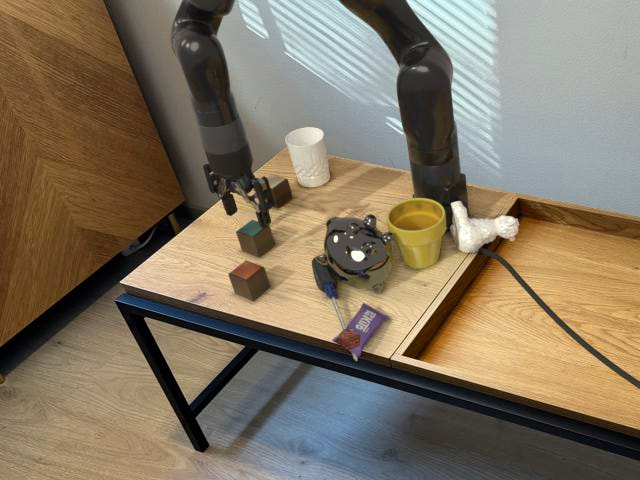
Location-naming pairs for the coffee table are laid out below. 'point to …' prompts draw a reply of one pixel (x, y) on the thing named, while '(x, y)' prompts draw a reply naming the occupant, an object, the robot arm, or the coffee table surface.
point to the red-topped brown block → (249, 280)
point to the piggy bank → (358, 252)
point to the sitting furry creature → (479, 229)
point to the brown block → (279, 190)
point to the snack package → (360, 329)
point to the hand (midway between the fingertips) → (248, 219)
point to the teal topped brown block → (255, 238)
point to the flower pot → (418, 230)
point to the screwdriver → (328, 287)
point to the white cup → (309, 156)
